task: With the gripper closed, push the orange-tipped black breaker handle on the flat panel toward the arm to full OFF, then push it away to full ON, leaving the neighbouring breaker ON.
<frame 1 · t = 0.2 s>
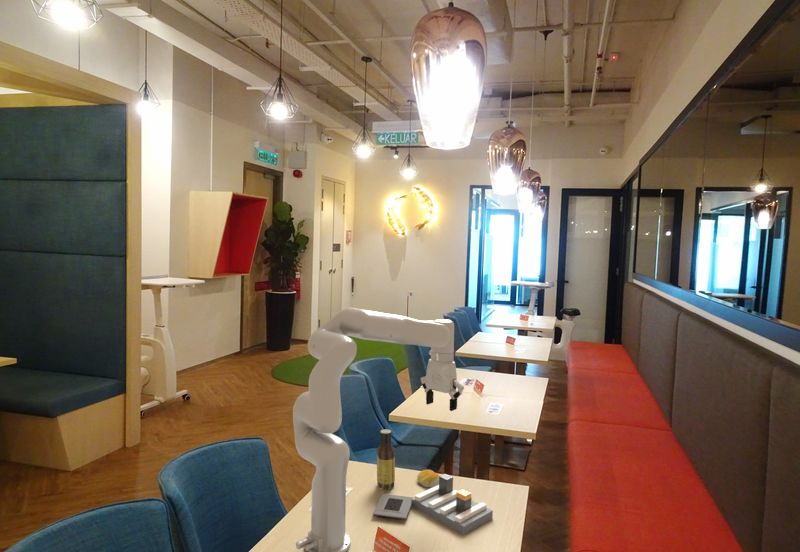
hand: (441, 406, 177), 31 cm above the table, tool pointing down, fingers open, 9 cm apart
grey flat block: (393, 512, 169), on the table
sauce bottle: (385, 486, 185), on the table
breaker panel: (451, 512, 168), on the table
bread roll: (429, 483, 189), on the table
on breaker handle: (445, 484, 175), point 6 cm above the table, slide at 8.0 cm
tripped breaker handle: (463, 501, 164), point 6 cm above the table, slide at 4.0 cm
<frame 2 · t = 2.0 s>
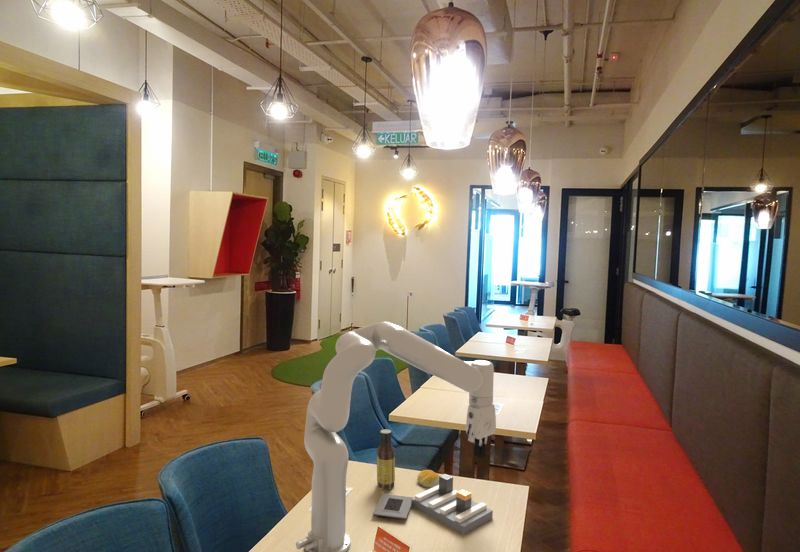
hand: (479, 456, 168), 18 cm above the table, tool pointing down, fingers closed
nothing on the table moved.
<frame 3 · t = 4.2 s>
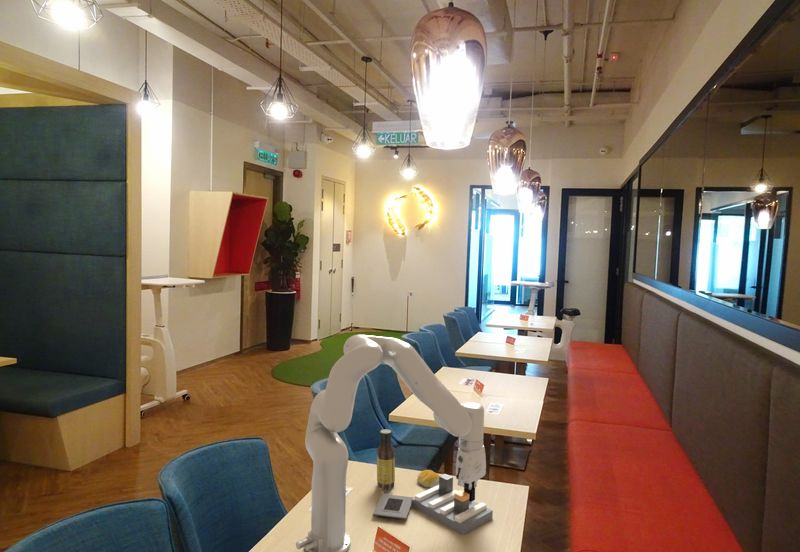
hand: (469, 499, 166), 5 cm above the table, tool pointing down, fingers closed
tripped breaker handle: (461, 502, 164), point 6 cm above the table, slide at 3.0 cm, touching gripper
everything else where it was.
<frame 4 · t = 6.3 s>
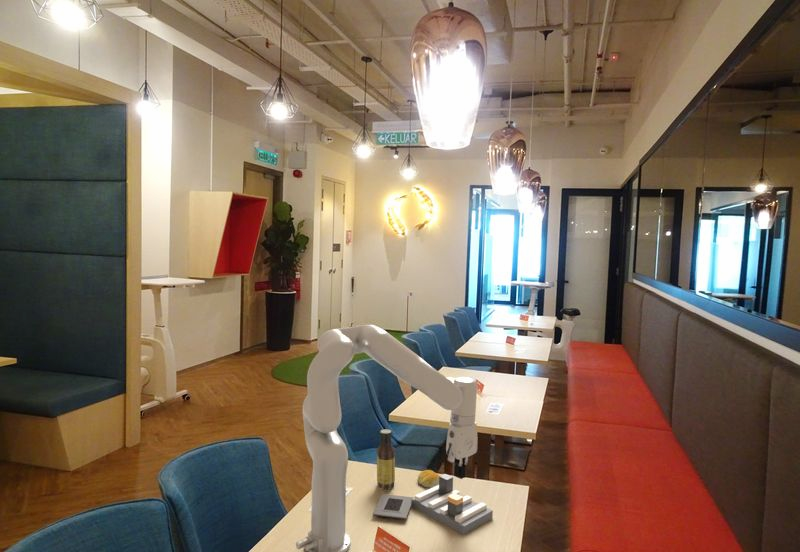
hand: (459, 476, 162), 14 cm above the table, tool pointing down, fingers closed
tripped breaker handle: (455, 505, 161), point 6 cm above the table, slide at -0.1 cm
everything else where it was.
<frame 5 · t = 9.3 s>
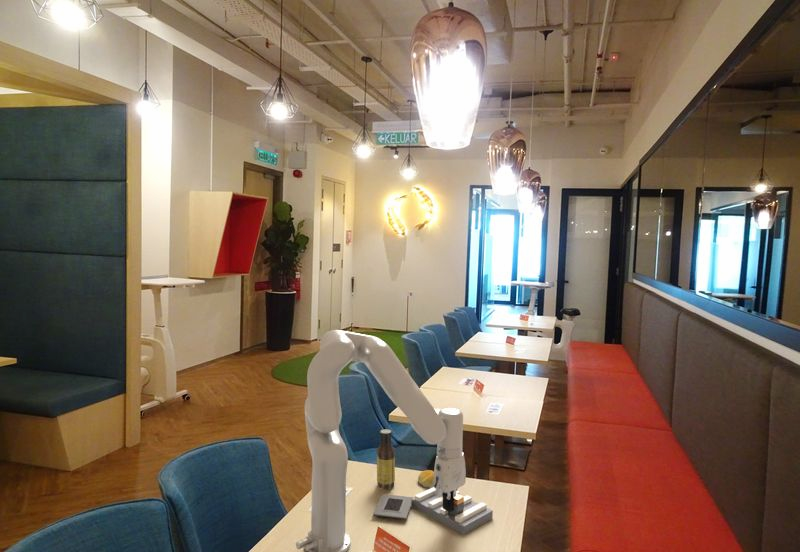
hand: (448, 509, 159), 5 cm above the table, tool pointing down, fingers closed
tripped breaker handle: (456, 505, 162), point 6 cm above the table, slide at 0.3 cm, touching gripper
everything else where it was.
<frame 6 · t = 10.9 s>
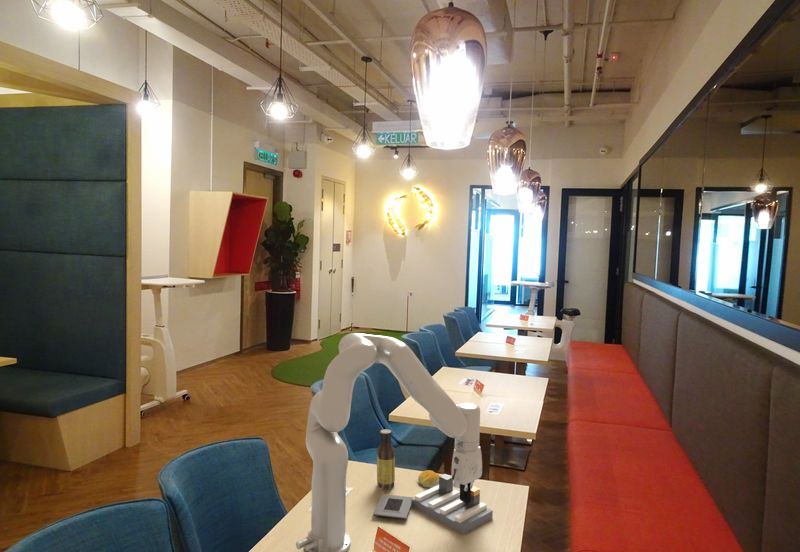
hand: (465, 500, 165), 5 cm above the table, tool pointing down, fingers closed
tripped breaker handle: (472, 496, 167), point 6 cm above the table, slide at 8.3 cm, touching gripper
everything else where it was.
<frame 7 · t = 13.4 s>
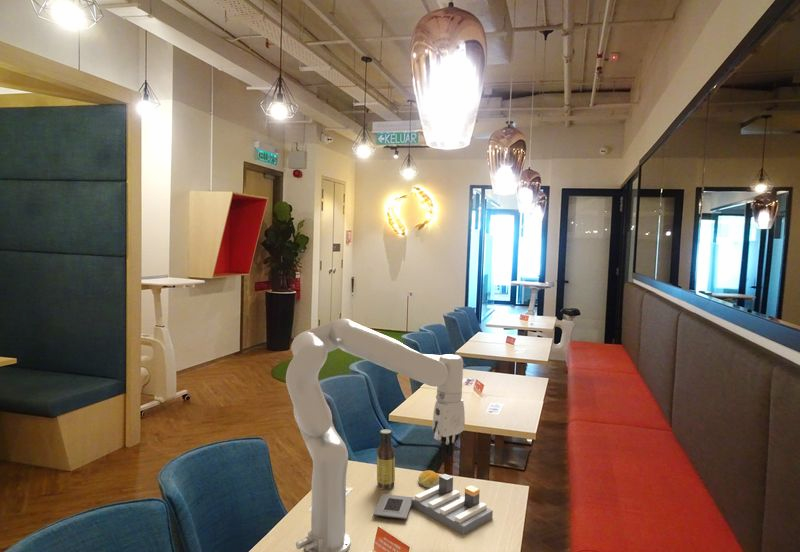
hand: (446, 455, 160), 21 cm above the table, tool pointing down, fingers closed
tripped breaker handle: (472, 496, 167), point 6 cm above the table, slide at 8.1 cm
everything else where it was.
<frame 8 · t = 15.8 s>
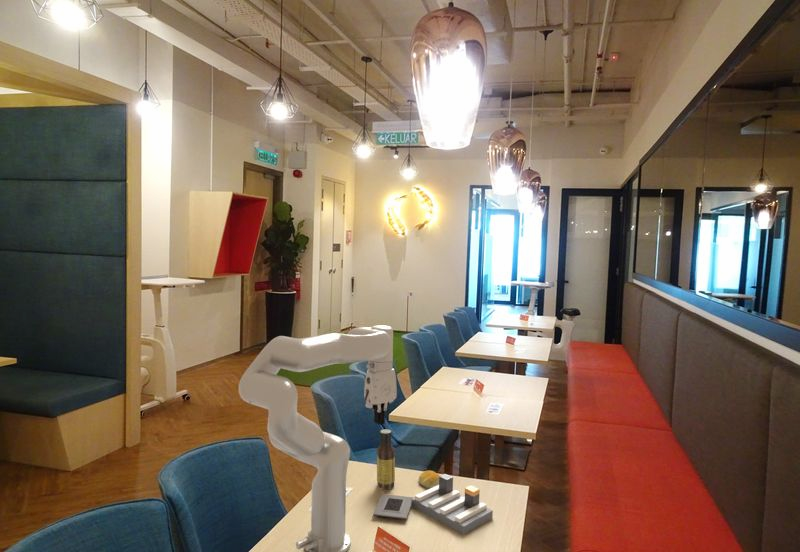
hand: (379, 423, 165), 29 cm above the table, tool pointing down, fingers closed
nothing on the table moved.
at the end: tripped breaker handle slide at 8.1 cm; on breaker handle slide at 8.0 cm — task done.
